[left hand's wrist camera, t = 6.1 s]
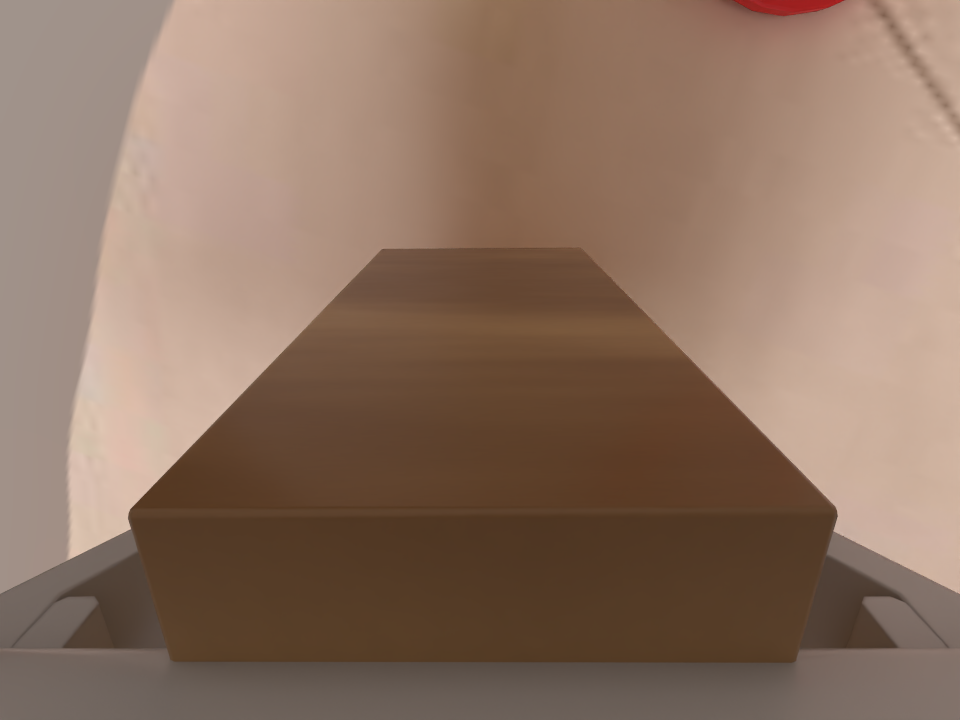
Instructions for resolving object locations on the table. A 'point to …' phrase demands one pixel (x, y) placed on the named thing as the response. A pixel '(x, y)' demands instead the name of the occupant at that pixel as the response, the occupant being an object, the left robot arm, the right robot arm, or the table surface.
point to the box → (483, 487)
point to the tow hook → (787, 6)
